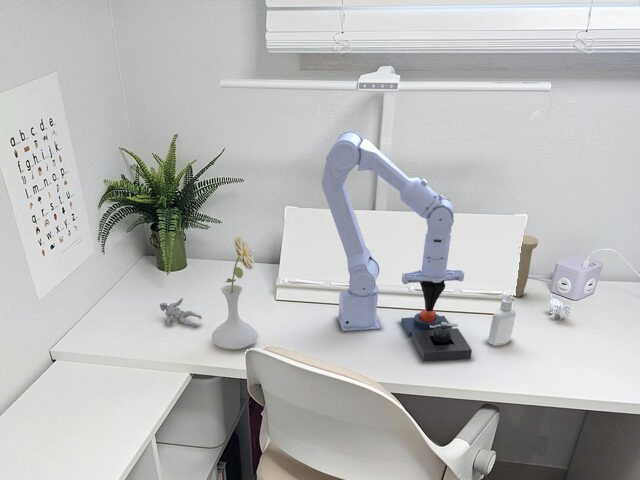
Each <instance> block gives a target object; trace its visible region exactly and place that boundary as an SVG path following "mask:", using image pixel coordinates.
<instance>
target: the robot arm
mask: <svg viewBox="0 0 640 480" xmlns="http://www.w3.org/2000/svg"><path fill="white" fill-rule="evenodd" d="M356 166H357V169H356V171H358V172H361V171H362V172H363V171H364V172H365V171H372V172H373V173H375V174H376V175H377V176H379V177H380V178H381V179H382V180H384V181H385V182H386V183H388V184H389V185H390V186H392V187H393V188H395V190H397V191H398V192H399V195H400V196H399V198H400V201H402V203H404V204H405V205H406V206H407V207H408V208H410V210H412V211H413V212H415V213H416V214H417V215H418V216H419V217H420V218H423V219H425V220H426V225H427V231H426V234H425V238H424V245H423V255H422V263H421V270H415V271H410V272H403V273H402V274H401V282H402V284H403V285H408V284H415V283H416V284H417V283H419V285H420V287H421V290H422V294H423V299H424V310H426V311H427V312H428V311H434V308H435V305H436V303H437V301H438V299H439V297H440V296H441V294H442V292H443V291H444V290H445V289H446V283H445V282H452V281H458V282H464V279H465V272H464V271H463V270H462V269H456V270H455V269H447V268H448V260H449V253H450V247H451V239H452V235H451V233H452V226H453V225H454V223H455V219H454V217H455V207H454V205H453V203H452V202H451V200H450V199H449V198H448V197H444V195H443V194H441V193H440V194H438V193H437V192H436V191H434V190H433V189H432V188H431V187H430V186H429V185H428V181H427V180H426V179H425V178H422V179H420V178H419V177H408V176H407V175H406V173H404V172H403V171H402V170H401V169H400V168H398V167H397V165H396V164H394V163H393V162H392V161H391V160H390V159H389V158H388V157H387V156H386V155H385V154H383V152H381V150H379V149H378V148H377V147H376V146H375V145H374V144H373V143H371V141H370V140H368V139H367V138H363V137H362V136H361V135H360V133H358V132H357V131H354V130H346V131H344V132H342V133H341V134H340V135H339V137H338V138H337V139H336V141H335V143H334V144H333V145H332V147H331V149H330V150H329V152H328V154H327V155H326V157H325V165H324V169H323V174H322V177H321V178H322V179H321V187H322V190H323V194H324V196H325V198H326V201H327V204H328V207H329V210H330V213H331V215H332V218H333V222H334V225H335V227H336V230H337V233H338V236H339V238H340V242H341V244H342V247H343V250H344V253H345V255H346V260H347V261H346V263H347V270H348V274H349V280H348V285H349V286H348V288H347V289H345V290H344V289H343V290H340V291H339V296H338V316H337V319H338V323H339V326H340V328H341V330H342V331H343V332H351V331H352V332H353V331H366V330H367V331H369V330H381V326H380V324H379V322H378V319H377V312H378V300H379V299H378V298H379V287H378V285H377V279H378V276H379V273H380V265H379V263H378V262H377V260H376V259H375V258H373V256H372V254H371V250H370V249H369V248H368V247H367V245H366V243H365V242H366V241H365V240H364V236H363V233H362V230H361V228H360V227H361V226H360V224H359V221H358V218H357V215H356V213H355V210H354V206H353V203H352V200H351V198H350V194H349V191H348V187H347V186H346V180H347V178H348V175H349V174H350V172H351V171H352V170H354V168H355V167H356Z"/></svg>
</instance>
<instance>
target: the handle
mask: <svg viewBox="0 0 640 480" xmlns="http://www.w3.org/2000/svg"><path fill="white" fill-rule="evenodd" d="M522 236H523V241H522V246H521V253H520V262H519V270H518V279H517V286H516V297H517V298H520V297H521V296H523V295H524V293H525V288H526V285H527V282H528V279H529V275H530V274H529V273H530V268H531V261H532V260H531V259H532V255H533V250H534V249H537V247H538V243H539V240H538V238H537V237H536V236H533V235H522Z"/></svg>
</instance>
